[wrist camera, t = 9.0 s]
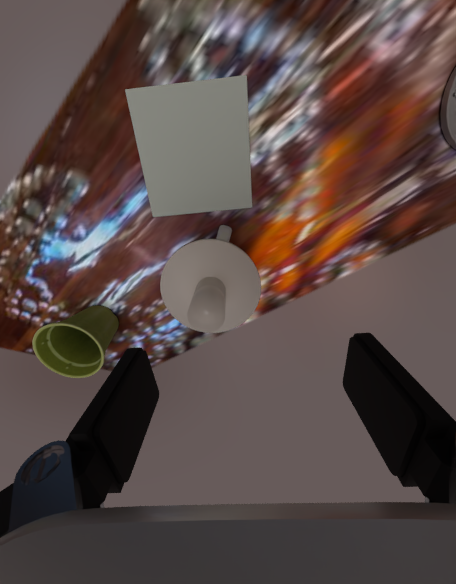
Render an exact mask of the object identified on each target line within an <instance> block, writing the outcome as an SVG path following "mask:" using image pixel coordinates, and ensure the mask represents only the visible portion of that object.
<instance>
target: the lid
mask: <svg viewBox="0 0 456 584" xmlns="http://www.w3.org/2000/svg"><path fill="white" fill-rule="evenodd" d="M160 289H161V295H162V298H163V301H164V303H165V306H166V307H167V309H168V311H169V312H170V313H171V314H172V316H173V317H174V318H175V319H176V320H178V321H179V322H180V323H182V324H183V325H185V326H187V327H189V328H191V329H193V330H196V331H200V332H206V333H218V332H224V331H228V330H231V329H234V328H236V327H238V326H239V325H241V324H242V323H244V322H245V321H246V320H247V319H248V318H249V317H250V316H251V315H252V314H253V312H254V311H255V309H256V307H257V305H258V302H259V299H260V295H261V281H260V277H259V273H258V271H257V268H256V266H255V264H254V263H253V261H252V260H251V258H250V257H249V256H248V255H247V254H246V253H245V252H244V251H243V250H242V249H240V248H239V247H238V246H236V245H234V244H232V243H229V242H227V241H224V240H219V239H201V240H196V241H193V242H190V243H188V244H186V245H184V246H183V247H181V248H180V249H179V250H177V251H176V252H175V253H174V254H173V255H172V256H171V258H170V259H169V260H168V262H167V263H166V265H165V267H164V269H163V272H162V275H161V282H160Z"/></svg>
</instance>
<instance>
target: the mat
mask: <svg viewBox="0 0 456 584" xmlns="http://www.w3.org/2000/svg"><path fill="white" fill-rule="evenodd" d="M125 91H126V96H127V101H128V105H129V110H130V114H131V119H132V123H133V128H134V133H135V137H136V142H137V146H138V151H139V156H140V160H141V165H142V169H143V174H144V178H145V183H146V188H147V192H148V197H149V201H150V206H151V210H152V215H153V217H159V216H170V215H180V214H191V213H201V212H211V211H222V210H232V209H243V208H252V192H251V168H250V144H249V120H248V97H247V75H243V76H235V77H227V78H218V79H210V80H201V81H193V82H184V83H176V84H168V85H159V86H151V87H142V88H134V89H125Z"/></svg>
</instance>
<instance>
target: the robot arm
mask: <svg viewBox="0 0 456 584" xmlns="http://www.w3.org/2000/svg"><path fill="white" fill-rule="evenodd" d="M440 115H441V127H442V131H443V134H444V136H445V138H446V140H447V142H448V143H449V144H450V145H451V146H452V147H453V148H454V149H456V67H455V69H454V71H453V72H452V74H451V76H450V79H449V81H448V83H447V86H446V88H445V92H444V95H443V99H442V105H441V112H440ZM343 387H344V389H345V391H346V393H347V395H348V397H349V399H350V400H351V402H352V404H353V406H354V407H355V409H356V411H357V413H358V415H359V416H360V418H361V420H362V422H363V424H364V425H365V427H366V429H367V431H368V433H369V434H370V436H371V438H372V440H373V441H374V443H375V445H376V447H377V449H378V451H379V452H380V454H381V456H382V458H383V459H384V461H385V463H386V465H387V467H388V468H389V470H390V472H391V473H392V474H393V475H394V476H397V477H398V478H399V480H400V481H401V484H402V485H403V487H413V486H418V487H419V489H420V490H421V492H422V493H423V495H424V496H425V503H415V502H354V503H278V504H221V505H177V506H136V507H114V508H104V503H103V502H104V501H105V498H106V495H107V493H121V490H122V487H123V485H124V482H127V481H128V480H129V478H130V476H131V473H132V470H133V467H134V465H135V462H136V459H137V456H138V453H139V451H140V448H141V445H142V443H143V440H144V437H145V434H146V432H147V429H148V426H149V423H150V421H151V418H152V415H153V412H154V410H155V407H156V404H157V401H158V398H159V390H158V387H157V384H156V381H155V378H154V374H153V371H152V368H151V365H150V362H149V359H148V356H147V353H146V351H143V349H142V348H129V349H127V350H126V351H125V353H124V354H123V356H122V357H121V359H120V360H119V362H118V363H117V365H116V366H115V368H114V369H113V371H112V372H111V374H110V375H109V377H108V378H107V380H106V381H105V383H104V384H103V385H102V387H101V389H100V390H99V392H98V393H97V394H96V396H95V398H94V399H93V400H92V402H91V403H90V405H89V406H88V408H87V409H86V411H85V412H84V414H83V415H82V416H81V418H80V419H79V421H78V422H77V424H76V425H75V427H74V428H73V430H72V431H71V433H70V434H69V436H68V438H67V440H66V441H54V442H51V443H49V444H47V445H44V446H43V447H41V448H40V449H38V450H37V451H35V452H34V453H33V454H32V455H31V456H30V457H29V458H28V459H27V460H26V461H25V462H24V463H23V464H22V466H21V467H20V469H19V470H18V472H17V474H16V477H15V480H14V483H13V484H11V485H10V486H8V487H7V488H5V489H4V490H2V491H1V492H0V584H456V421H455V420H454V419H453V418H452V417H451V416H450V415H449V414H448V413H447V412H446V411H445V410H444V409H443V408H442V407H441V406H440V405H439V404H438V403H437V402H436V401H435V399H433V397H432V396H430V394H429V393H428V392H427V391H426V390H425V389H424V388H423V387H422V386H421V385H420V384H419V383H418V382H417V381H416V380H415V379H414V378H413V377H412V376H411V375H410V373H409V372H407V370H406V369H405V368H404V367H403V366H402V365H401V364H400V363H399V362H398V361H397V360H396V359H395V358H394V357H393V356H392V355H391V354H390V353H389V352H388V351H387V350H386V349H385V348H384V347H383V345H381V343H380V342H379V341H378V340H377V339H376V338H375V337H374V336H373V335H372V334H371V333H357V334H354V336H353V337H351V338H350V340H349V346H348V353H347V359H346V365H345V371H344V377H343Z"/></svg>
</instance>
